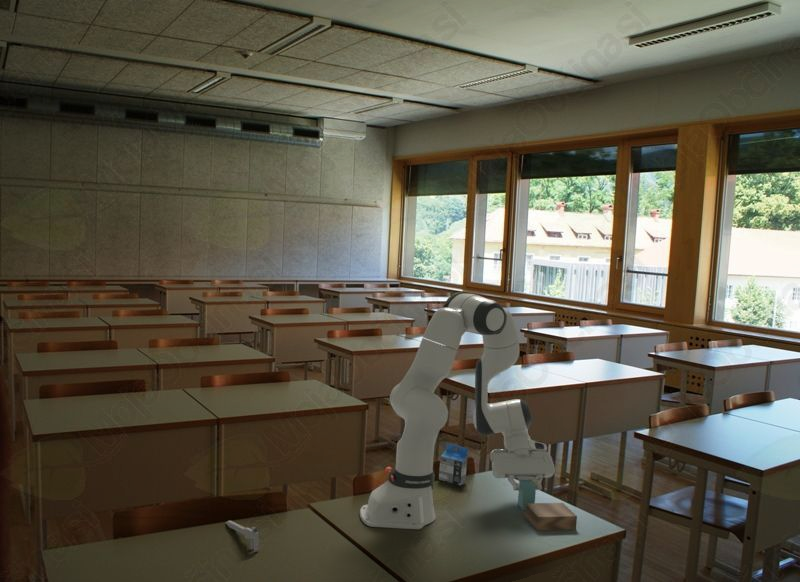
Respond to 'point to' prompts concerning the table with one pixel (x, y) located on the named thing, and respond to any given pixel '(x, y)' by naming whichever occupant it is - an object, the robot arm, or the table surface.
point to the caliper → (247, 534)
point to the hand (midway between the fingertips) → (527, 489)
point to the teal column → (526, 493)
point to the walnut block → (550, 516)
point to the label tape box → (453, 465)
